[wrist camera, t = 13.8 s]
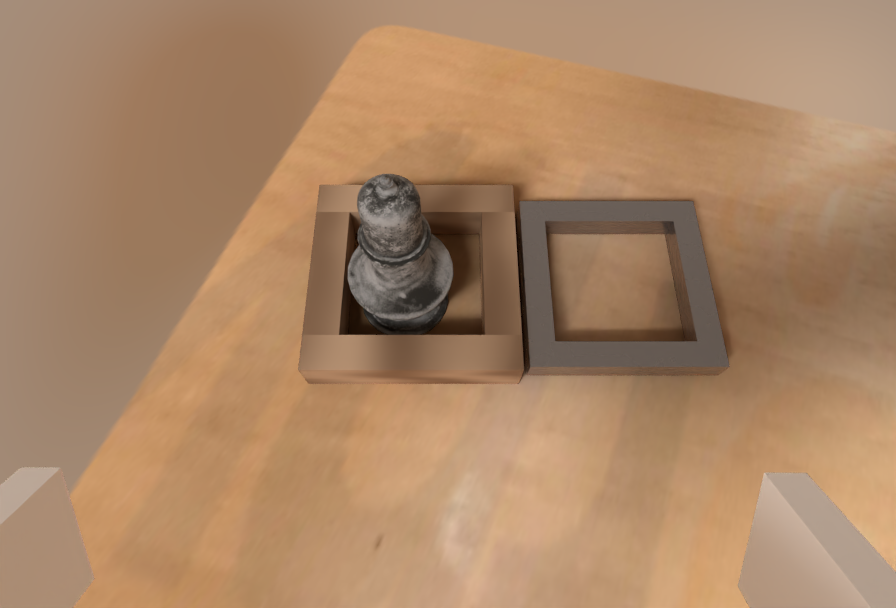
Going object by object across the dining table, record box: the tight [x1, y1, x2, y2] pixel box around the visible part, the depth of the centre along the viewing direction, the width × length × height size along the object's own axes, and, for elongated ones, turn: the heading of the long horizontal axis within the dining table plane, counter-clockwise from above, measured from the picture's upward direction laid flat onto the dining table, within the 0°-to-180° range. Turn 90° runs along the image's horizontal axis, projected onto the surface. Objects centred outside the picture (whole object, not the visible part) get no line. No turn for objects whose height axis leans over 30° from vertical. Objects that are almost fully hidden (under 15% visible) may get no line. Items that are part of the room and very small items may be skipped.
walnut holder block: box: [298, 185, 524, 384], centre depth 34 cm, size 12×12×2 cm
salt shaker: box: [348, 174, 453, 335], centre depth 29 cm, size 6×6×12 cm
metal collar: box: [517, 201, 730, 375], centre depth 34 cm, size 11×11×2 cm
